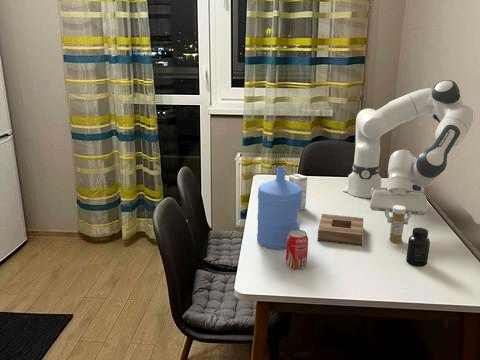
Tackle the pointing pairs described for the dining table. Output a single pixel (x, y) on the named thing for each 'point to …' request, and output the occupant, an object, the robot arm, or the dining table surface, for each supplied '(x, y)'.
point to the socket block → (341, 229)
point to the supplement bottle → (418, 248)
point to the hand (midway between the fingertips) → (397, 223)
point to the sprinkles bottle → (397, 223)
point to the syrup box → (302, 183)
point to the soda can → (296, 249)
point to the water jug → (277, 211)
